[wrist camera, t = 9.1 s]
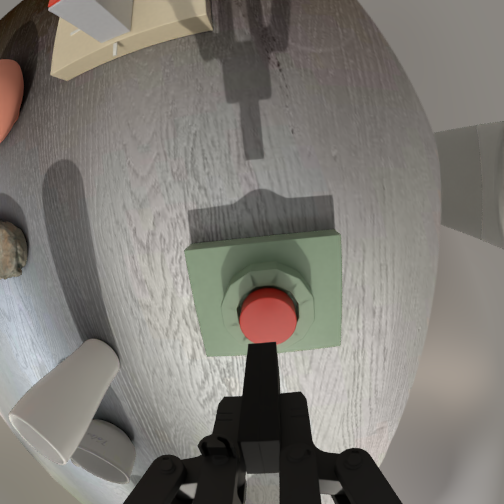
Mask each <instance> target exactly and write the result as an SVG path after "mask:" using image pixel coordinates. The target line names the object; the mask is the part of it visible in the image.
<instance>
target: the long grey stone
mask: <svg viewBox="0 0 504 504" xmlns="http://www.w3.org/2000/svg"><path fill="white" fill-rule="evenodd" d="M27 253H28V251H27V244H26V240H25V238H24V234H23V233H22V231H21V229H19V228H17V226H14V225H13V224H12V223H10V222H8V221H7V222H3V221H2V220H0V279H2V278H4V279H7V278H11V277H18V276H20V275H22V270H21V269H22V267H24V266H25V265H26V261H27Z"/></svg>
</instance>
